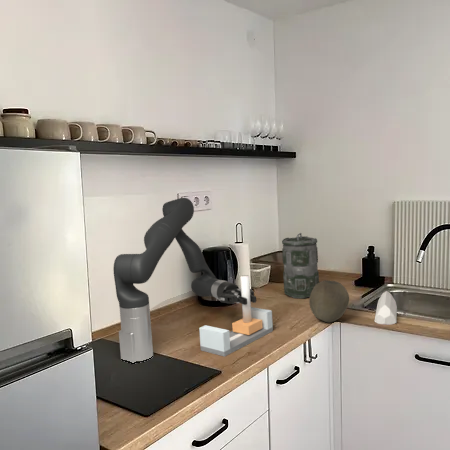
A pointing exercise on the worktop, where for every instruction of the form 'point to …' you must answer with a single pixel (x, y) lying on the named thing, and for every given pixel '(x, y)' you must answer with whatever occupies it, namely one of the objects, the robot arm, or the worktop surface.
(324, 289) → the cantaloupe
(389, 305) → the crystal
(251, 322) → the carriage
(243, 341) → the rail track
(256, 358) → the worktop surface
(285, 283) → the canister
